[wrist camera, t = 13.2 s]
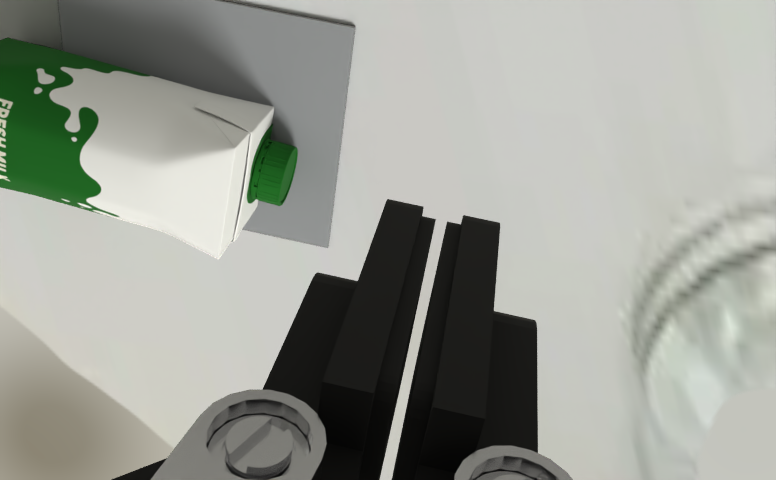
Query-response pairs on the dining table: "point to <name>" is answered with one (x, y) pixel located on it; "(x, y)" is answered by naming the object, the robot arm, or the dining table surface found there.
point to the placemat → (239, 80)
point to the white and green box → (137, 146)
